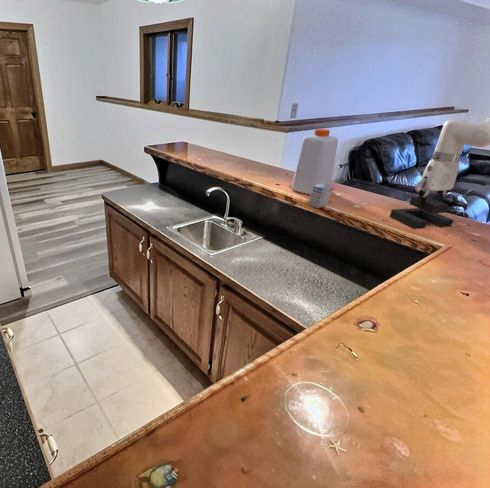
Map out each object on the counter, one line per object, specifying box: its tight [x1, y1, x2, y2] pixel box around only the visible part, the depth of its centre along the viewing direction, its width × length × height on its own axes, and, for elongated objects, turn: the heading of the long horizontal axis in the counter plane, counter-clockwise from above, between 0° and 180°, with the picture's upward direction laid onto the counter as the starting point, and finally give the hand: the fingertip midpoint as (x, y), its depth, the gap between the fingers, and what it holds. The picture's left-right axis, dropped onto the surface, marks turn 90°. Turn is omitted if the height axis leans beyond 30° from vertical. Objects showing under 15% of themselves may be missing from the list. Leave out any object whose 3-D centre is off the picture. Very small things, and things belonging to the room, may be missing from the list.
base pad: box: [389, 207, 454, 230], centre depth 132 cm, size 15×13×3 cm
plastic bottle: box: [291, 128, 339, 196], centre depth 160 cm, size 15×15×28 cm
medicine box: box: [309, 183, 333, 209], centre depth 146 cm, size 8×4×9 cm, turn 130°
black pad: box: [408, 195, 449, 214], centre depth 128 cm, size 6×10×3 cm, turn 9°
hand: (427, 205), depth 129 cm, fingers closed on black pad, 6 cm apart
